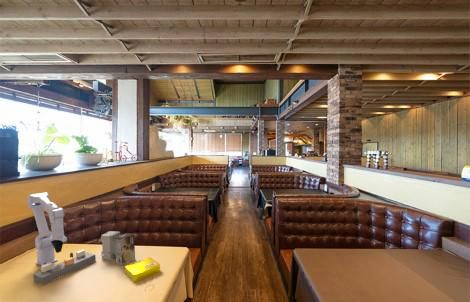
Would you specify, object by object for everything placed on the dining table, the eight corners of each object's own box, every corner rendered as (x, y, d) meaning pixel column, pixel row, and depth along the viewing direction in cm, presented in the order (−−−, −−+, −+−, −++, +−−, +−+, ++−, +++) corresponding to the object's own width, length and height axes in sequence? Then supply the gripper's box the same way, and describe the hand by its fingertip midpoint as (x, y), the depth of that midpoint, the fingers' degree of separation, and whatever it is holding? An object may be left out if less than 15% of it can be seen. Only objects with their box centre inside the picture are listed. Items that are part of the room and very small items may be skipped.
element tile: (149, 263, 142) (149, 255, 142) (161, 272, 131) (161, 263, 131) (124, 273, 131) (123, 265, 131) (134, 284, 121) (134, 274, 121)
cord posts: (43, 272, 133) (42, 263, 133) (72, 260, 147) (72, 252, 147) (44, 273, 132) (44, 264, 132) (73, 260, 146) (73, 252, 146)
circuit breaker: (121, 260, 147) (120, 236, 146) (101, 258, 150) (100, 235, 149) (129, 254, 154) (128, 232, 154) (110, 253, 157) (109, 231, 157)
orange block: (64, 265, 133) (64, 260, 133) (71, 262, 137) (71, 257, 137) (66, 266, 132) (66, 260, 132) (74, 262, 136) (74, 257, 136)
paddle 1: (41, 271, 127) (41, 265, 127) (49, 267, 131) (49, 262, 131) (43, 272, 126) (43, 266, 126) (52, 268, 130) (52, 263, 130)
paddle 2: (76, 257, 144) (75, 252, 144) (82, 254, 147) (82, 249, 147) (78, 257, 142) (78, 252, 142) (85, 254, 146) (85, 250, 146)
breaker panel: (33, 281, 125) (33, 274, 125) (86, 258, 150) (86, 252, 150) (42, 285, 121) (42, 277, 121) (95, 261, 147) (95, 254, 146)
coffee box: (129, 257, 150) (128, 232, 150) (135, 259, 147) (134, 234, 147) (115, 263, 142) (114, 237, 142) (121, 266, 139) (120, 239, 139)
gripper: (43, 229, 139) (44, 252, 139) (56, 233, 132) (57, 257, 133) (56, 226, 145) (57, 248, 145) (70, 229, 139) (71, 251, 139)
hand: (58, 252), depth 139 cm, fingers closed
